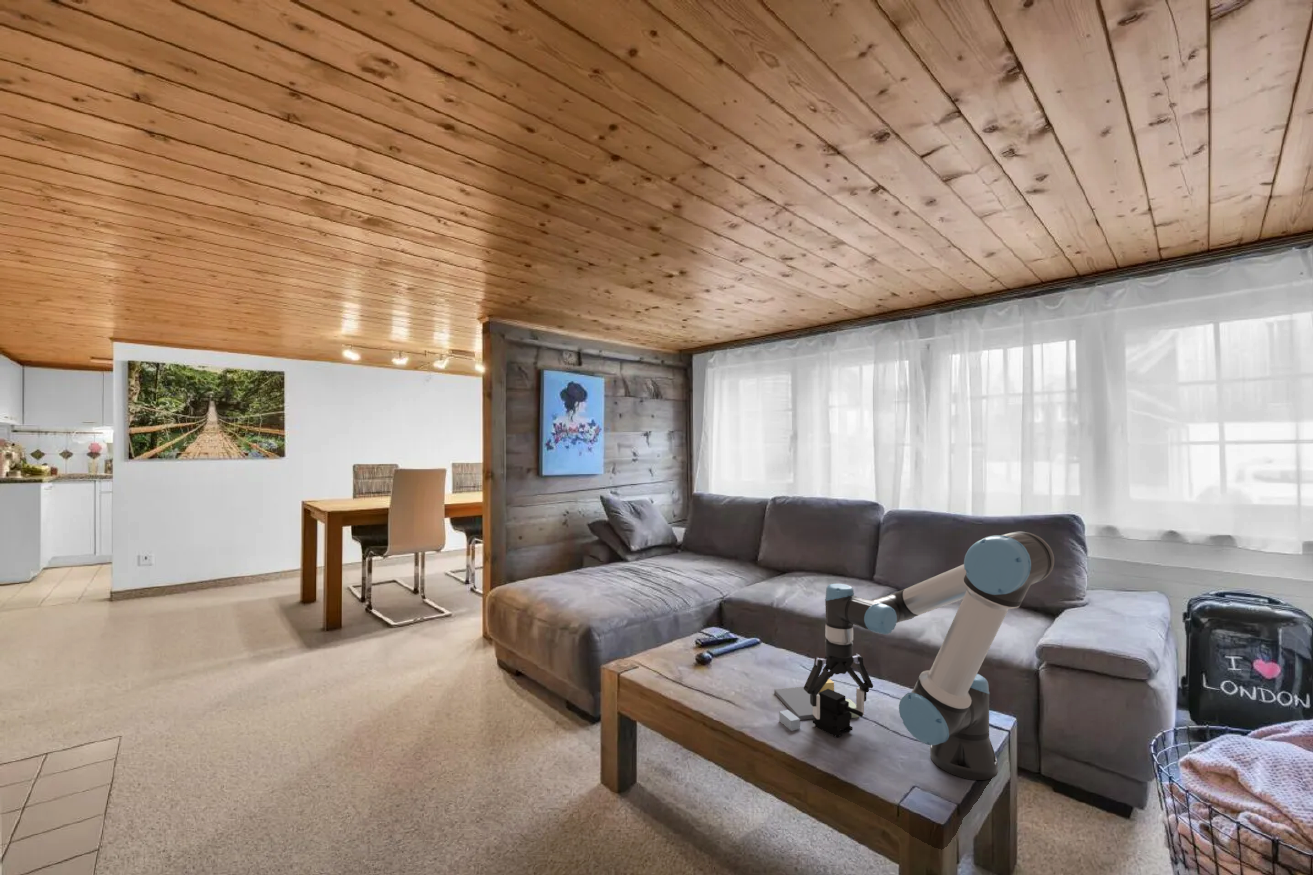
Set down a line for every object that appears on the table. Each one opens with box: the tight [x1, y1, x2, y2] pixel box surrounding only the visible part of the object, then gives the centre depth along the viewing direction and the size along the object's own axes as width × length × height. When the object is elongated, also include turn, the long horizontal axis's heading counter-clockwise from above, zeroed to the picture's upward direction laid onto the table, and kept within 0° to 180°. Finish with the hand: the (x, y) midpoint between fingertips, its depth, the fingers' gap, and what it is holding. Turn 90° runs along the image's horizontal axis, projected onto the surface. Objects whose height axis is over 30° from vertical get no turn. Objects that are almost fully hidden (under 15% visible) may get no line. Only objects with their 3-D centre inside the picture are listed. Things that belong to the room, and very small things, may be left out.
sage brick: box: [845, 698, 860, 719], centre depth 168 cm, size 6×3×3 cm, turn 8°
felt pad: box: [773, 686, 815, 721], centre depth 173 cm, size 18×12×1 cm, turn 11°
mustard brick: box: [819, 678, 835, 692], centre depth 183 cm, size 6×3×3 cm, turn 102°
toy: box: [812, 689, 864, 738], centre depth 156 cm, size 8×14×10 cm, turn 36°
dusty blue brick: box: [778, 709, 801, 732], centre depth 161 cm, size 6×3×3 cm, turn 21°
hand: (838, 714), depth 157 cm, fingers open, 13 cm apart
